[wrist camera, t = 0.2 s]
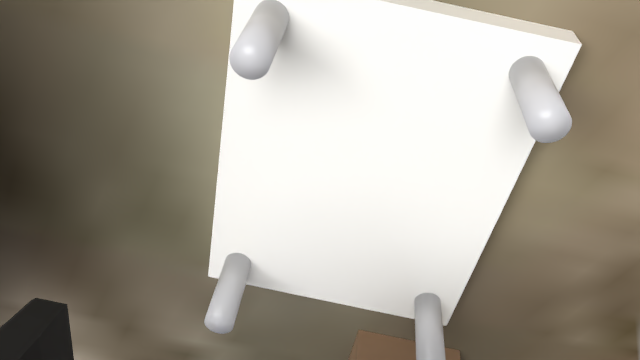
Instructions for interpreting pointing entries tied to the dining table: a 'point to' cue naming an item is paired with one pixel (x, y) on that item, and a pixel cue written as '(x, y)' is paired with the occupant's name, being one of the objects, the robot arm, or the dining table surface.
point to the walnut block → (388, 348)
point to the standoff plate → (375, 150)
